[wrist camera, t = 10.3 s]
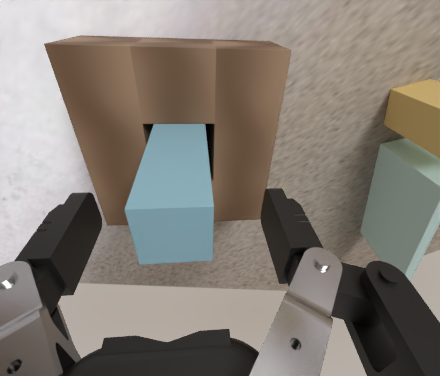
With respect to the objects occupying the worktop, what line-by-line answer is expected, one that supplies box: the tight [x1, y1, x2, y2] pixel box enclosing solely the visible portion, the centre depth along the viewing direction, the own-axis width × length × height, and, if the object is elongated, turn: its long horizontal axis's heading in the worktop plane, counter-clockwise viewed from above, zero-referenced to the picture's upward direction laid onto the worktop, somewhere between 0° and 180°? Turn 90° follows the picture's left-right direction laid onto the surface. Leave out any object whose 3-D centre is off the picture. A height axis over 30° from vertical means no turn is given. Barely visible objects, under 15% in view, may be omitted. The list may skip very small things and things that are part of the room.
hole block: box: [44, 36, 292, 225], centre depth 17 cm, size 12×12×4 cm
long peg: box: [125, 124, 214, 265], centre depth 14 cm, size 3×3×12 cm
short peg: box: [384, 79, 440, 158], centre depth 17 cm, size 3×3×6 cm
